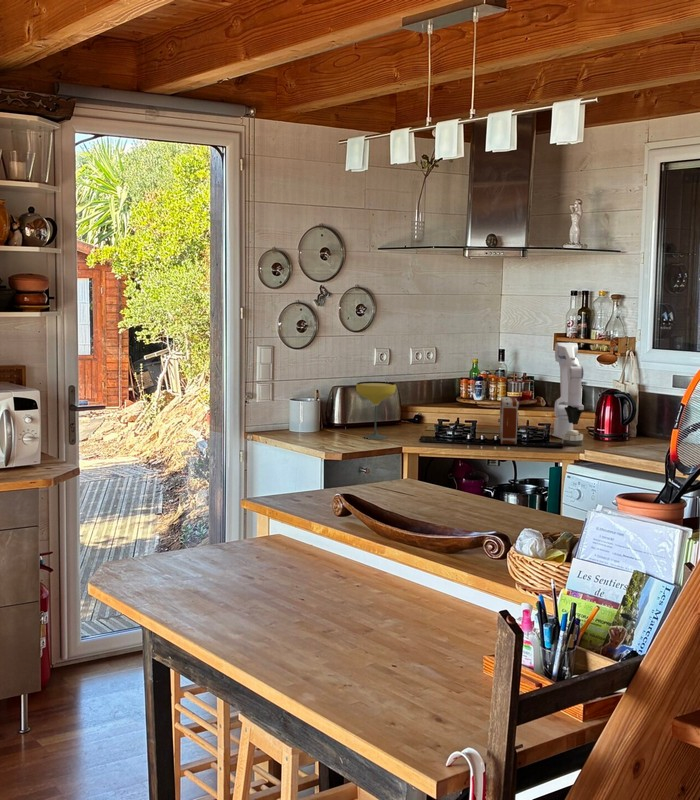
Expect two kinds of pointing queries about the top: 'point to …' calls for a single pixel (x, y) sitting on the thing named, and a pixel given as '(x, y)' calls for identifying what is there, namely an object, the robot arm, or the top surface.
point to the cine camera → (508, 420)
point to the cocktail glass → (375, 397)
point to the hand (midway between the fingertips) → (573, 423)
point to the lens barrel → (572, 440)
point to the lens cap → (572, 432)
